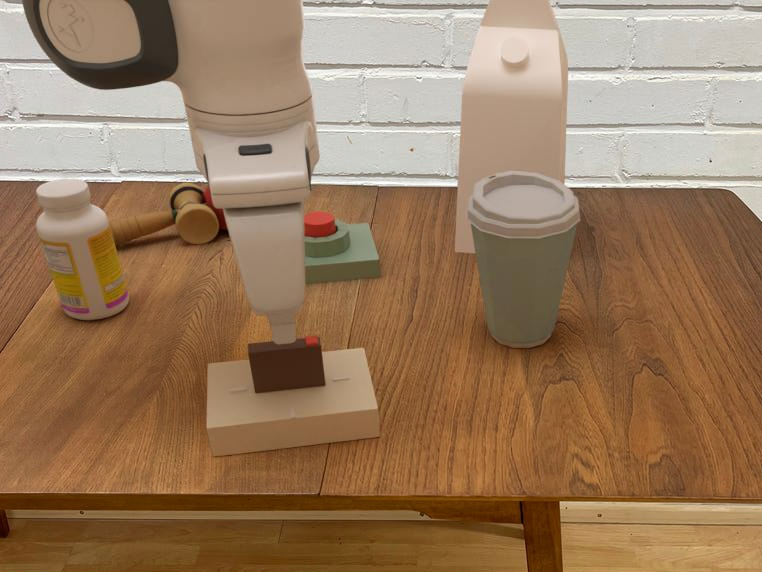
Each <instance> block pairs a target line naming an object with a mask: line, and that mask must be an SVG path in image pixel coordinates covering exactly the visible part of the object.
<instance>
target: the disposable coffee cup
mask: <svg viewBox="0 0 762 572" xmlns="http://www.w3.org/2000/svg"><path fill="white" fill-rule="evenodd" d="M466 220H468V221H469V222H470V223H471V229H472V235H473V241H474V247H475V253H474V254H475V258H476V265H477V271H478V277H479V283H480V289H481V295H482V302H483V308H484V313H485V319H486V326H487V331H489V332H490V336H491V338H492V339H493V340H495V341H496V342H497V343H498V344H499V345H503V346H507V347H508V348H512V349H530V348H533V347H538V346H540V345H543V344H545V343H546V342H547V341H548V340H549V339H550V338H551V337H552V333H553V332H555V328H556V324H557V320H558V319H557V318H558V314H559V309H560V305H561V300H562V296H563V291H564V287H565V282H566V277H567V272H568V268H569V264H570V259H571V256H572V255H571V254H572V250H573V246H574V241H575V237H576V232H577V228H578V223H579V222H580V221H581V213H580V205H579V198H578V197H577V196H576V195H574V191H573V190H571V188H569V187H568V186H567V185H566V184H565V183H564V184H563V183H561V182H560V181H559V180H556V179H553V178H550V177H547V176H544V175H541V174H538V173H533V172H521V171H507V172H502V173H498V174H493V175H490V176H488V177H485V178H484V179H482V180H481V181H479V182H477V183H476V184H474V189H473V195H472V196H470V197H469V203H468V208H467V217H466Z"/></svg>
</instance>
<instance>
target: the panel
mask: <svg viewBox="0 0 762 572" xmlns="http://www.w3.org/2000/svg"><path fill="white" fill-rule="evenodd" d="M322 357H323V366H324V375H325V383H326V385H325V386H316V387H307V388H298V389H289V390H280V391H270V392H261V393H255V390H254V384H253V379H252V373H251V367H250V362H249V358H248V359H239V360H229V361H221V362H210V363H207V383H206V384H207V386H206V387H207V389H206V425H205V426H206V433H207V437H208V443H209V446H210V450H211V455H212V457H213V458H216V457H223V456H232V455H233V456H234V455H240V454H248V453H257V452H267V451H273V450H281V449H290V448H297V447H298V448H299V447H308V446H316V445H323V444H332V443H340V442H347V441H348V442H349V441H357V440H365V439H372V438H373V439H375V438H380V437H381V427H380V416H379V415H380V414H379V405H378V401H377V398H376V393H375V388H374V384H373V380H372V376H371V372H370V368H369V362H368V357H367V354H366V350H365V347H356V348H347V349H338V350H337V349H336V350H328V351H322Z"/></svg>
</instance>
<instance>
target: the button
mask: <svg viewBox="0 0 762 572" xmlns="http://www.w3.org/2000/svg"><path fill="white" fill-rule="evenodd" d="M335 219H336V218H335V216H334V214H333V213H332V212H331V213H330V212H327V211H312V212H308V213H306V214H304V235H305V236H307V237H314V238H319V237H327V236H330V235H333V234H335V233H336V229H335Z"/></svg>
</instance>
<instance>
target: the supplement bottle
mask: <svg viewBox="0 0 762 572" xmlns="http://www.w3.org/2000/svg"><path fill="white" fill-rule="evenodd" d="M35 193H36V197H37V201H38V204H39V205H40V206H41V207H42V208H43V212H42V213H41V214H40V215H39V216H38V218H37V220H36V223H35V228H36V231H37V235H38V238H39V241H40V245H41V247H42V251H43V253H44V256H45V259H46V263H47V265H48V269H49V272H50V275H51V278H52V281H53V284H54V287H55V291H56V294H57V296H58V300H59V302H60V305H61V307H62V309H63V312H64V313H65V314H66V315H68V316H69V317H70V318H73V319H76V320H79V321H96V320H102V319H106V318H110V317H113V316H115V315H117V314H119V313H120V312H122V311H123V310H124V309H126V308H127V306H128V304H129V301H130V293H129V289H128V287H127V283H126V280H125V276H124V272H123V268H122V265H121V261H120V257H119V253H118V250H117V246H115V243H114V239H113V236H112V232H111V228H110V224H109V222H110V220H109V217H108V216H107V213H105V211H104V209H102V208H101V207H99V206H97V205H95V204H91V197H92V195H91V191H90V188H89V184H88V183H87V182H86V181H84V180H82V179H78V178H60V179H55V180H54V179H53V180H50V181H47V182H45V183H42V184H40V185H39V186H38V187H37V188H36V190H35Z"/></svg>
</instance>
